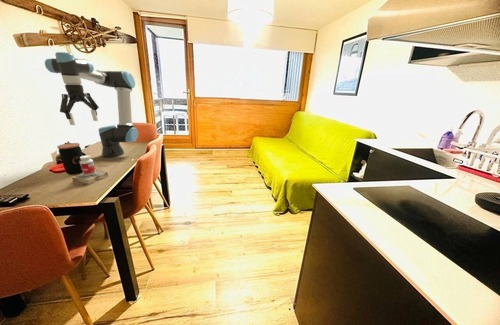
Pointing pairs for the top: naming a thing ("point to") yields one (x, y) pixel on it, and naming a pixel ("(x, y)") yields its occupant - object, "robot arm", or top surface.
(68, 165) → the coffee jar
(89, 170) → the pill bottle
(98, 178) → the banknote stack
